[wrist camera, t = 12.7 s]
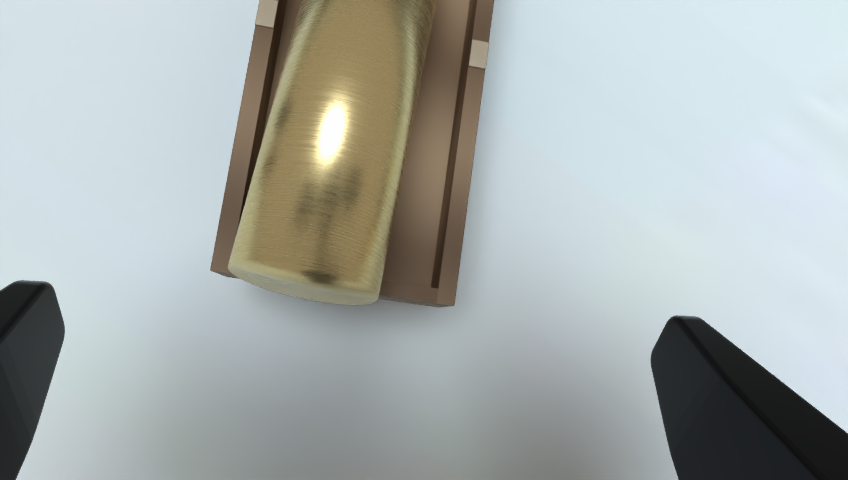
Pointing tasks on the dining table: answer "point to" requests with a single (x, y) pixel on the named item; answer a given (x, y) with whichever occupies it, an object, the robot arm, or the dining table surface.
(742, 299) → the dining table surface
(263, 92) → the brown wooden tray
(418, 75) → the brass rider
